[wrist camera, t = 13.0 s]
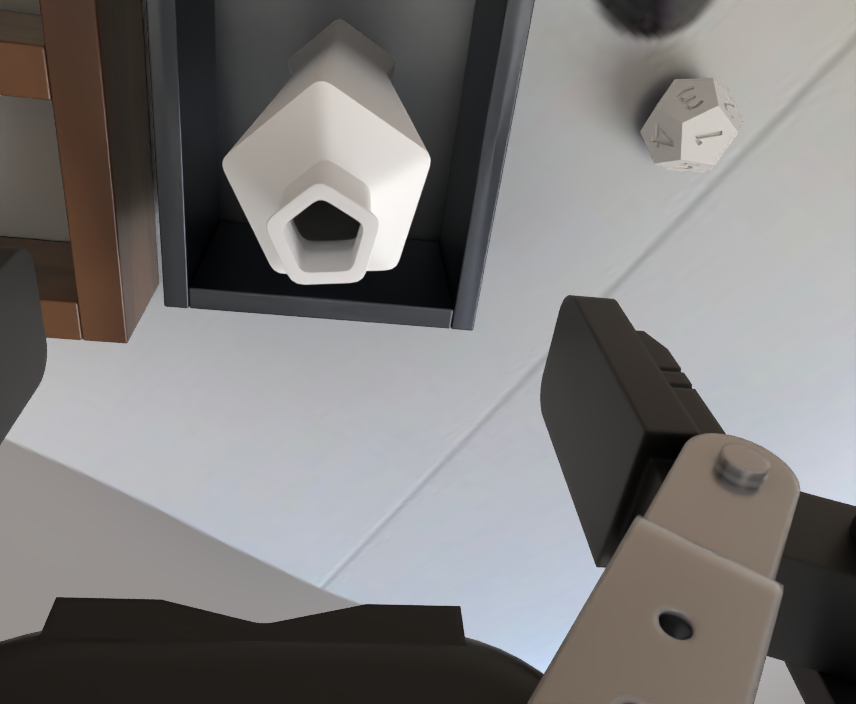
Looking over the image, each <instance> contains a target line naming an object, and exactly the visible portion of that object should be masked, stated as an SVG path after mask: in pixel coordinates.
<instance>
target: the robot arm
mask: <svg viewBox="0 0 856 704" xmlns="http://www.w3.org/2000/svg"><path fill="white" fill-rule="evenodd" d="M46 359H47V343H46V336H45V330H44V323H43V317H42V311H41V304H40V298H39V292H38V285H37V279H36V273H35V267H34V263H33V259H32V257H31V255H30V253H29V252H28V251H27V250H26V249H24V248H14V247H2V246H0V444H1V443H2V441H3V440H4V438H5V437H6V435H7V433H8V432H9V430H10V429H11V427H12V426H13V424H14V423H15V421H16V420H17V418H18V417H19V415H20V413H21V412H22V410H23V409H24V407H25V406H26V404H27V403H28V401H29V400H30V398H31V397H32V395H33V394H34V392H35V390H36V389H37V387H38V386H39V384H40V382H41V380H42V378H43V375H44V371H45V366H46ZM540 402H541V411H542V415H543V418H544V421H545V424H546V427H547V430H548V432H549V435H550V438H551V441H552V444H553V446H554V449H555V452H556V455H557V458H558V460H559V463H560V466H561V469H562V472H563V474H564V477H565V480H566V483H567V486H568V488H569V491H570V494H571V497H572V500H573V502H574V505H575V508H576V511H577V514H578V516H579V519H580V522H581V525H582V528H583V530H584V533H585V536H586V539H587V542H588V544H589V547H590V550H591V553H592V556H593V558H594V561H595V564H596V567H606V569H605V570H604V572H603V574H602V576H601V577H600V579H599V581H598V582H597V584H596V586H595V588H594V589H593V591H592V593H591V594H590V596H589V598H588V600H587V601H586V603H585V605H584V606H583V608H582V610H581V612H580V613H579V615H578V617H577V619H576V620H575V622H574V624H573V625H572V627H571V629H570V631H569V632H568V634H567V636H566V637H565V639H564V641H563V643H562V644H561V646H560V648H559V649H558V651H557V653H556V655H555V656H554V658H553V660H552V661H551V663H550V665H549V667H548V668H547V670H546V672H545V673H544V674H543V673H541V672H540V671H538V670H537V669H535V668H534V667H532V666H531V665H529V664H527V663H526V662H524V661H523V660H521V659H519V658H517V657H515V656H513V655H511V654H509V653H507V652H505V651H503V650H501V649H499V648H496V647H493V646H491V645H488V644H485V643H483V642H480V641H477V640H473V639H470V638H466V637H465V636H464V629H463V622H462V615H461V608H460V606H424V605H379V604H365V605H360V606H355V607H350V608H346V609H340V610H335V611H330V612H325V613H320V614H315V615H309V616H304V617H299V618H295V619H289V620H284V621H279V622H274V623H254V622H250V621H246V620H242V619H238V618H234V617H229V616H226V615H222V614H217V613H213V612H209V611H205V610H201V609H197V608H193V607H189V606H185V605H181V604H177V603H173V602H169V601H164V600H154V599H151V600H149V599H109V598H106V599H105V598H63V597H57V598H56V599H55V602H54V605H53V606H52V609H51V611H50V613H49V616H48V618H47V620H46V623H45V625H44V627H43V630H42V631H40V632H35V633H31V634H26V635H22V636H19V637H15V638H12V639H8V640H5V641H1V642H0V704H754V701H755V697H756V693H757V690H758V686H759V682H760V678H761V674H762V671H763V667H764V663H765V660H766V656H769V657H773V658H776V659H780V660H783V661H785V663H786V666H787V668H788V670H789V672H790V674H791V676H792V678H793V680H794V682H795V684H796V686H797V688H798V690H799V692H800V694H801V696H802V698H803V700H804V702H805V704H856V506H852V505H849V504H845V503H841V502H837V501H833V500H830V499H826V498H822V497H818V496H815V495H811V494H807V493H804V492H801V491H800V485H799V482H798V479H797V477H796V475H795V474H794V473H793V471H792V470H791V469H790V468H789V467H788V465H787V464H786V463H785V462H783V461H782V460H781V459H780V458H779V457H777V456H776V455H775V454H773V453H772V452H770V451H769V450H767V449H765V448H763V447H762V446H759V445H757V444H755V443H753V442H751V441H748V440H745V439H743V438H739V437H736V436H732V435H726V434H725V432H724V431H723V429H722V428H721V426H720V425H719V423H718V422H717V420H716V419H715V418H714V416H713V415H712V413H711V412H710V410H709V409H708V407H707V406H706V404H705V403H704V402H703V400H702V399H701V397H700V396H699V394H698V393H697V391H696V390H695V389H692V384H691V383H690V381H689V380H688V378H687V377H686V375H685V374H684V373H682V372H681V368H680V366H679V365H678V364H677V362H676V361H675V359H674V358H673V356H672V355H671V353H670V352H669V350H668V349H667V348H665V347H664V346H663V345H661V344H660V343H659V342H657V341H656V340H655V339H653V338H652V337H651V336H649V335H648V334H647V333H645V332H644V331H635V329H634V327H633V326H632V324H631V323H630V321H629V320H628V318H627V316H626V315H625V313H624V312H623V310H622V309H621V307H620V306H619V304H618V302H617V301H616V300H614V299H608V298H596V297H584V296H572V295H568V296H567V297H566V298H565V299H564V300H563V302H562V305H561V307H560V311H559V314H558V318H557V322H556V326H555V330H554V334H553V338H552V342H551V346H550V349H549V353H548V357H547V361H546V365H545V369H544V373H543V377H542V382H541V393H540Z"/></svg>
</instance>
